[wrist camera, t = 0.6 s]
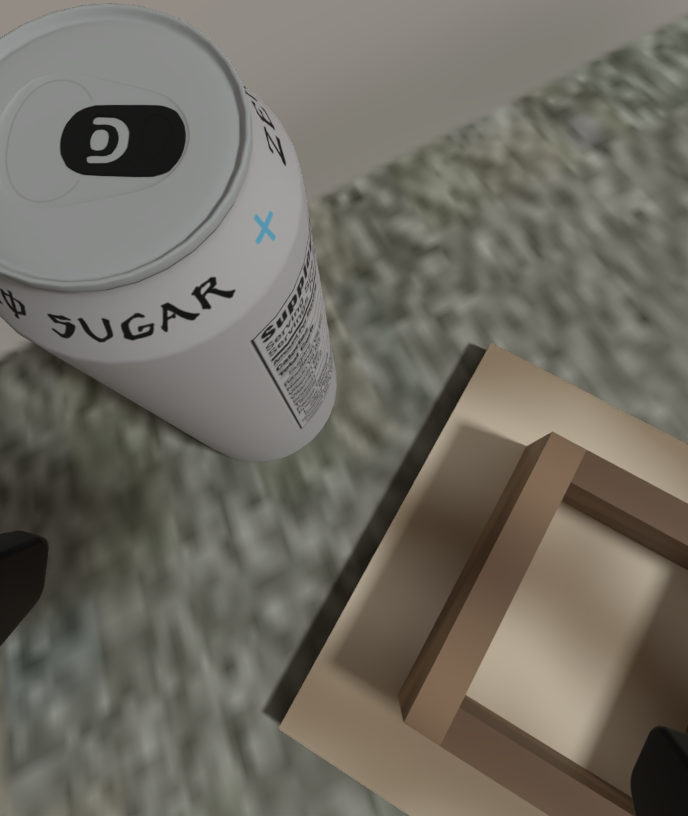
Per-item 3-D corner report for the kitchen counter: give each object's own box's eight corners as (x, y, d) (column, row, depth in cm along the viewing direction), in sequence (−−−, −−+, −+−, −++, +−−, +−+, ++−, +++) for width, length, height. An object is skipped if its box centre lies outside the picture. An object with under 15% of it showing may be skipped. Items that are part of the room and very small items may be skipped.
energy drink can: (197, 319, 24) (-68, -29, 9) (341, 323, 24) (303, -29, 9) (182, 462, 22) (-157, 321, 8) (334, 468, 22) (276, 334, 8)
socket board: (710, 1005, 18) (801, 1126, 14) (281, 721, 20) (263, 762, 16) (879, 553, 21) (991, 557, 17) (486, 349, 23) (510, 313, 19)
